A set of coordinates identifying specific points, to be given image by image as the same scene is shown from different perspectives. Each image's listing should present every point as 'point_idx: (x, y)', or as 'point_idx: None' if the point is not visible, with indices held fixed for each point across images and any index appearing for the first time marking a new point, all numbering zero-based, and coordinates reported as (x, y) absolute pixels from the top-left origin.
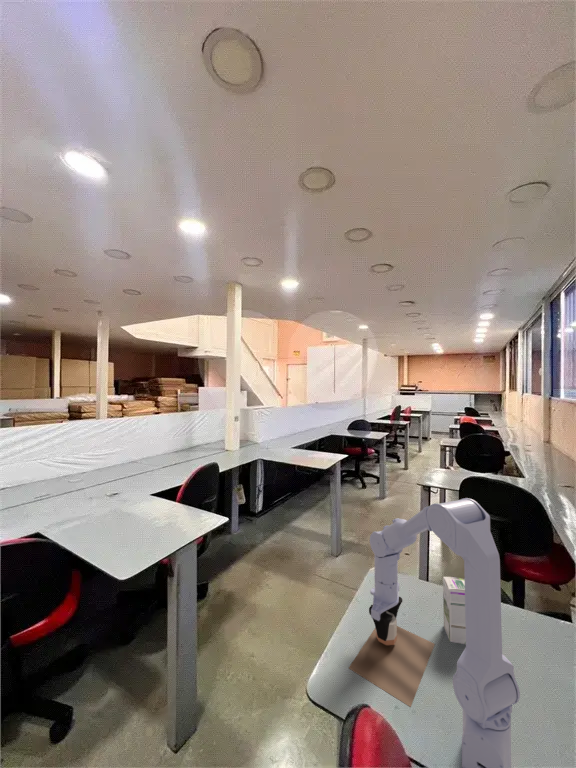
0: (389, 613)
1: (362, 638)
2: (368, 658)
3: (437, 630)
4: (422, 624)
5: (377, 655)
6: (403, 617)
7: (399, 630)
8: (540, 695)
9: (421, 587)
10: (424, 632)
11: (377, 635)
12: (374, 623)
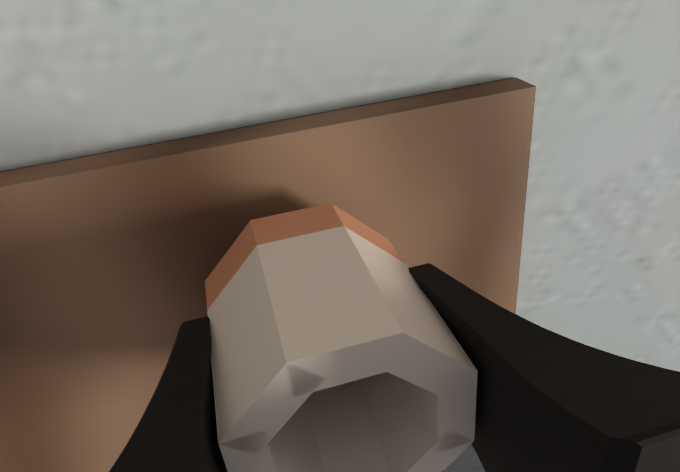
0: (458, 416)
1: (183, 65)
2: None
3: (635, 358)
4: (646, 288)
5: (93, 315)
6: (659, 175)
7: (485, 265)
8: None
9: None
10: (581, 329)
11: (182, 326)
12: (126, 445)
